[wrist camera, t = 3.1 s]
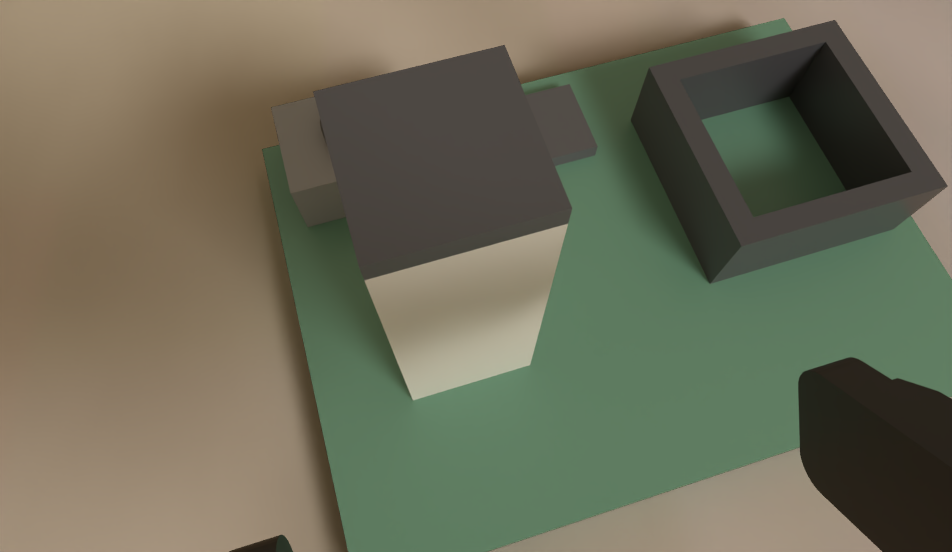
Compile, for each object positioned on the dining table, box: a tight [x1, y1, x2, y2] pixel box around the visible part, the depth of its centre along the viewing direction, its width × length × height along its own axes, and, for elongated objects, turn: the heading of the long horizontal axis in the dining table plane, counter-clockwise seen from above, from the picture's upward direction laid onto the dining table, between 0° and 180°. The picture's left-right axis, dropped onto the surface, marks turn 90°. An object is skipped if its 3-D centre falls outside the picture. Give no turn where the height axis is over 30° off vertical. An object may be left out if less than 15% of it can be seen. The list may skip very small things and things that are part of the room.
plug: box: [313, 45, 572, 400], centre depth 18 cm, size 4×4×11 cm
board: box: [262, 18, 952, 552], centre depth 23 cm, size 22×16×4 cm
